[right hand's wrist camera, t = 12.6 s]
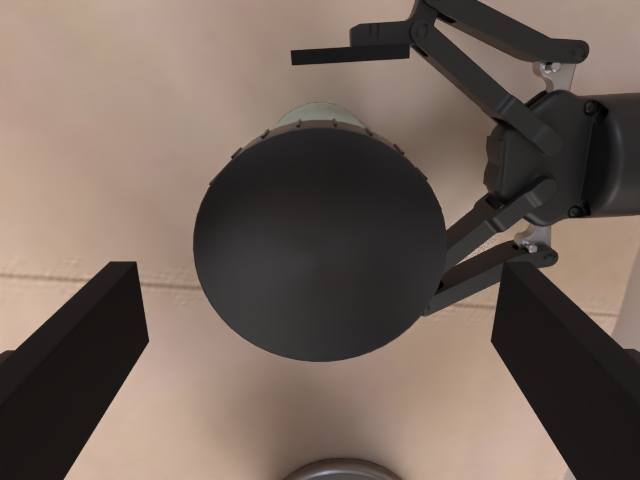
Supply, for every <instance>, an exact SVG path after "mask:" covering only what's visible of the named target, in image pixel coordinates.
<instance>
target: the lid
mask: <svg viewBox="0 0 640 480" xmlns="http://www.w3.org/2000/svg"><path fill="white" fill-rule="evenodd" d="M403 154H404V152H403V151H402V150H401V149H400V148H399V147H398V146H397V145H396V144H394V145H392V144H391V143H390V142H389V141H387V140H386V139H384V138H382V137H381V136H379V135H377V134H376V133H374V132H372V131H371V130H370V129H369V128H368V127H366V128H362V127H360V126H357V125H353V124H350V123H346V122H341V121H336V119H335V118H333V120H307V121H301V119H299V120H298V122H294V123H290V124H287V125H283V126H280V127H278V128H275V129H273V130H271V131H269V129H267V130H266V131H265V132H264V133H263V135H261V136H259V137H258V138H256V139H254V140H253V141H251V142H250V143H249V144H248V145H246V146H245V147H244V148H243V149H242V148H241V147H240V148H239V149H238V150H237V151H236V152H235V153H234V154H233V156H232V157H231V158H232V160H231V161H230V162H229V163H228V164H227V165H226V166H225V167H224V168H223V170H222V171H221V172H220V173H219V174H218V175H217V176H216V177H215V178H214V179H213V180H212V181H211V182H210V184H209V185H210V187H209V188H208V190H207V192H206V194H205V196H204V198H203V200H202V202H201V205H200V208H199V211H198V213H197V217H196V222H195V228H194V235H193V252H194V261H195V267H196V271H197V274H198V278H199V281H200V283H201V286H202V288H203V291H204V293H205V295H206V297H207V298H208V300H209V302H210V304H211V305H212V307H213V308H214V309H215V311H216V312H217V313H218V315H219V316H220V317H221V318H222V319H223V321H224V322H225V323H226V324H227V325H228V326H229V327H230V328H231V329H233V330H234V331H235V332H236V333H238V334H239V335H240V336H241V337H243V338H244V339H246V340H247V341H249V342H251V343H252V344H254V345H255V346H257V347H259V348H262V349H264V350H266V351H268V352H270V353H273V354H276V355H279V356H282V357H286V358H291V359H295V360H302V361H311V362H329V361H338V360H345V359H349V358H354V357H358V356H361V355H364V354H367V353H369V352H372V351H374V350H376V349H378V348H380V347H383V346H385V345H386V344H388V343H390V342H391V341H393V340H394V339H396V338H397V337H399V336H400V335H401V334H402V333H404V332H405V331H406V330H407V329H409V328H410V327H411V326H412V325H413V324H414V323H415V322H416V321H417V319H418V318H419V317H420V316H421V315H422V313H423V312H424V311H425V309H426V308H427V307H428V305H429V304H430V302H431V300H432V298H433V297H434V295H435V293H436V291H437V288H438V286H439V283H440V281H441V278H442V275H443V271H444V267H445V262H446V252H447V235H446V228H445V222H444V217H443V214H442V211H441V210H442V209H441V207H440V205H439V202H438V200H437V198H436V196H435V194H434V192H433V190H432V188H431V187H430V185H429V184H428V182H427V181H426V180H427V177H426V176H425V175H424V174H423V173H422V172H421V171H420V170H419V169H418V168H417V167H415V166H414V165H413V164H412V163H411V162H410V161H409V160H408V159H407V158H406V157H405V156H404V155H403Z"/></svg>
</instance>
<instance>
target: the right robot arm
mask: <svg viewBox="0 0 640 480" xmlns="http://www.w3.org/2000/svg"><path fill="white" fill-rule="evenodd" d="M148 343H149V337H148V331H147V325H146V318H145V312H144V306H143V300H142V294H141V287H140V281H139V275H138V269H137V263H136V262H109V263H108V264H107V265H106V266H105V267H104V268H103V269H102V270H101V271H100V272H98V273H97V274H96V275H95V276H94V277H93V278H92V279H91V280H90V281H89V282H88V283H87V284H86V285H85V286H83V287H82V288H81V289H80V290H79V291H78V292H77V293H76V294H75V295H74V296H73V297H72V298H71V299H70V300H68V301H67V302H66V303H65V304H64V305H63V306H62V307H61V308H60V309H59V310H58V311H57V312H56V313H55V314H53V315H52V316H51V317H50V318H49V319H48V320H47V321H46V322H45V323H44V324H43V325H42V326H41V327H40V328H38V329H37V330H36V331H35V332H34V333H33V334H32V335H31V336H30V337H29V338H28V339H27V340H26V341H25V342H23V343H22V344H21V345H20V346H19V347H18V348H17V349H16V350H6V351H5V352H3V353H1V354H0V480H64V478H65V476H66V475H67V473H68V472H69V470H70V468H71V467H72V465H73V464H74V462H75V460H76V459H77V457H78V455H79V454H80V452H81V451H82V449H83V447H84V446H85V444H86V443H87V441H88V439H89V438H90V436H91V434H92V433H93V431H94V430H95V428H96V426H97V425H98V423H99V422H100V420H101V418H102V417H103V415H104V414H105V412H106V410H107V409H108V407H109V405H110V404H111V402H112V401H113V399H114V397H115V396H116V394H117V393H118V391H119V389H120V388H121V386H122V384H123V383H124V381H125V380H126V378H127V376H128V375H129V373H130V372H131V370H132V368H133V367H134V365H135V363H136V362H137V360H138V359H139V357H140V355H141V354H142V352H143V351H144V349H145V347H146V346H147V344H148ZM491 343H492V344H493V346H494V347H495V349H496V351H497V352H498V354H499V355H500V357H501V359H502V360H503V362H504V363H505V365H506V367H507V368H508V370H509V372H510V373H511V375H512V376H513V378H514V380H515V381H516V383H517V384H518V386H519V388H520V389H521V391H522V393H523V394H524V396H525V397H526V399H527V401H528V402H529V404H530V405H531V407H532V409H533V410H534V412H535V414H536V415H537V417H538V418H539V420H540V422H541V423H542V425H543V426H544V428H545V430H546V431H547V433H548V434H549V436H550V438H551V439H552V441H553V443H554V444H555V446H556V447H557V449H558V451H559V452H560V454H561V455H562V457H563V459H564V460H565V462H566V464H567V465H568V467H569V468H570V470H571V472H572V473H573V475H574V476H575V478H576V480H640V352H638V351H637V350H635V349H623V348H622V347H621V346H620V345H619V344H618V343H617V342H615V341H614V340H613V339H612V338H611V337H610V336H609V335H608V334H607V333H606V332H605V331H604V330H603V329H602V328H600V327H599V326H598V325H597V324H596V323H595V322H594V321H593V320H592V319H591V318H590V317H589V316H588V315H587V314H585V313H584V312H583V311H582V310H581V309H580V308H579V307H578V306H577V305H576V304H575V303H574V302H573V301H572V300H570V299H569V298H568V297H567V296H566V295H565V294H564V293H563V292H562V291H561V290H560V289H559V288H558V287H557V286H555V285H554V284H553V283H552V282H551V281H550V280H549V279H548V278H547V277H546V276H545V275H544V274H543V273H542V272H540V271H539V270H538V269H537V268H536V267H535V266H534V265H533V264H532V263H531V262H504V263H503V269H502V275H501V281H500V287H499V294H498V300H497V306H496V312H495V318H494V325H493V331H492V337H491Z"/></svg>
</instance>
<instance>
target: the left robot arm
mask: <svg viewBox="0 0 640 480" xmlns="http://www.w3.org/2000/svg"><path fill="white" fill-rule="evenodd" d="M436 19H438V20H440V21H442V22H444V23H446V24H448V25H450V26H452V27H454V28H456V29H458V30H460V31H462V32H464V33H466V34H468V35H470V36H472V37H474V38H476V39H478V40H480V41H482V42H484V43H486V44H488V45H490V46H492V47H494V48H496V49H498V50H500V51H502V52H504V53H506V54H508V55H510V56H512V57H515V58H517V59H519V60H523V61H526V62H533V72H534V74H535V75H536V76H538V77H540V78H542V79H544V81H545V82H546V90H544V91H542V92H540V93H539V94H537V95H536V96H535V97H533V98H532V99H531V100H529V101H528V102H527V103H525V104H523V103H522V102H521V101H520V100H519V99H517V98H516V97H514V96H513V95H511V94H509V93H508V92H507V91H506V90H505V89H504V88H502V87H501V86H500V85H499V84H498V83H497V82H496V81H495V80H494V79H492V78H491V77H490V76H489V75H488V74H487V73H486V72H485V71H483V70H482V69H481V68H480V67H479V66H478V65H477V64H476V63H475V62H473V61H472V60H471V59H470V58H469V57H468V56H467V55H466V54H465V53H463V52H462V51H461V50H460V49H459V48H458V47H457V46H456V45H454V44H453V43H452V42H451V41H450V40H449V39H448V38H447V37H446V36H444V35H443V34H442V33H441V32H440V31H439V30H438V29H437V28H436V27H434V23H435V20H436ZM349 31H350V47H341V48H325V49H308V50H292V51H291V60H292V65H308V64H324V63H341V62H358V61H374V60H391V59H406V58H409V54H410V47H411V48H413V49H414V50H415V51H416V52H417V53H418V54H419V55H421V56H422V57H423V58H424V59H425V60H426V61H428V62H429V63H430V64H431V65H432V66H433V67H434V68H436V69H437V70H438V71H439V72H440V73H441V74H442V75H444V76H445V77H446V78H447V79H448V80H449V81H451V82H452V83H453V84H454V85H455V86H456V87H457V88H459V89H460V90H461V91H462V92H463V93H464V94H465V95H467V96H468V97H469V98H470V99H471V100H472V101H474V102H475V103H476V104H477V105H478V106H479V107H480V108H481V110H482V111H483V112H484V113H485V114H487V115H488V116H489V117H490V118H491V119H492V120H494V121H495V122H496V123H497V124H498V125H497V126H496V127H495V128H494V129H493V131H492V133H491V135H490V136H487V143H486V150H487V155H488V163H487V166H486V169H485V172H484V182H483V184H485V185H486V186H487V190H488V193H487V194H486V195H484V196H483V197H482V198H481V199H479V200H478V201H477V202H476V203H475V205H474V208H473V209H472V210H471V211H470V212H468V213H467V214H466V215H465V216H464V217H462V218H461V219H460V220H459V221H457V222H456V223H455V224H454V225H452V226H451V227H450V228H449V229H448V230H446V235H447V252H446V262H445V267H444V271H443V275H442V278H441V281H440V283H439V286H438V288H437V291H436V293H435V295H434V297H433V298H432V300H431V302H430V304H429V305H428V307H427V308H426V309H425V311H424V312H423V313H422V315H421V316H428V315H430V314H433V313H435V312H437V311H439V310H441V309H443V308H445V307H447V306H449V305H452V304H454V303H456V302H458V301H460V300H462V299H464V298H466V297H468V296H471V295H473V294H475V293H477V292H479V291H481V290H483V289H485V288H487V287H489V286H492V285H494V284H496V283H498V282H500V281H501V275H502V269H503V263H504V262H531V263H532V264H533V265H534V266H535V267H536V268H543V267H549V266H552V265H554V264H555V263H556V262H557V260H558V253H557V252H556V251H555V250H553V249H552V248H551V225H553V224H555V223H556V222H558V221H561V220H563V219H567V218H598V217H617V216H634V215H639V214H640V93H625V94H608V95H590V96H577V95H575V94H573V93H571V92H569V91H570V87H571V83H572V79H573V75H574V71H575V67H576V64H578V63H581V62H583V61H584V60H585V59H586V58H587V56H588V54H589V46H588V44H587V43H586V42H585V41H582V40H569V39H553V38H549V37H547V36H545V35H543V34H541V33H540V32H538V31H536V30H534V29H532V28H530V27H528V26H526V25H524V24H522V23H520V22H518V21H516V20H514V19H512V18H510V17H508V16H506V15H504V14H502V13H501V12H499V11H497V10H495V9H493V8H491V7H489V6H487V5H485V4H483V3H481V2H479V1H477V0H415V3H414V6H413V9H412V12H411V14H410V16H409V18H408V19H407V20H406V21H399V22H383V23H367V24H359V25H357V26H355V27H353V28H351V29H350V30H349ZM501 206H502V207H501ZM500 207H501V208H500ZM521 218H523V219H525V220H526V221H528V222H529V223H530V224H529V227H528V228H527V230H525V231H524V232H521V233H517V234H515V236H514V240H511V241H507V242H504V243H501V244H499V245H497V246H494V247H492V248H490V249H488V250H486V251H484V252H482V253H480V254H478V255H476V256H474V257H472V258H470V259H468V260H466V261H464V262H462V263H460V264H458V265H456V264H457V263H459V262H460V261H461V260H462V259H464V258H465V257H466V256H468V255H469V254H470V253H471V252H473V251H474V250H475V249H477V248H478V247H479V246H480V245H482V244H483V243H484V242H485V241H487V240H488V239H489V238H491V237H492V236H493V235H494V234H496V233H498V232H504V231H506V230H507V229H508V228H510V227H511V226H512V225H514V224H515V223H516V222H517V221H519V220H520V219H521ZM455 265H456V266H455ZM284 480H400V479H399V478H398V477H397V476H395V475H394V474H393V473H391V472H390V471H388V470H387V469H385V468H383V467H381V466H378V465H376V464H373V463H370V462H366V461H362V460H356V459H329V460H323V461H319V462H315V463H312V464H309V465H307V466H304V467H302V468H300V469H298V470H296V471H295V472H293V473H292V474H290V475H289V476H288V477H287V478H286V479H284Z"/></svg>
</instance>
